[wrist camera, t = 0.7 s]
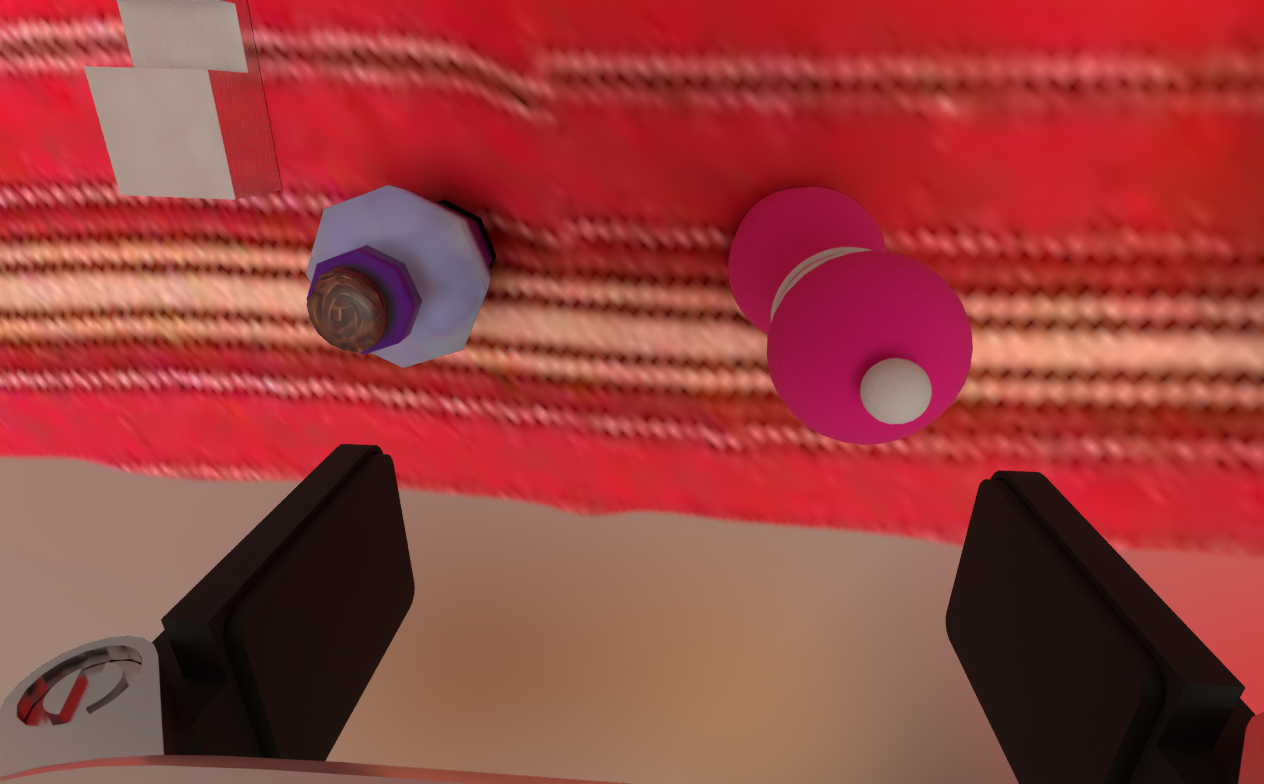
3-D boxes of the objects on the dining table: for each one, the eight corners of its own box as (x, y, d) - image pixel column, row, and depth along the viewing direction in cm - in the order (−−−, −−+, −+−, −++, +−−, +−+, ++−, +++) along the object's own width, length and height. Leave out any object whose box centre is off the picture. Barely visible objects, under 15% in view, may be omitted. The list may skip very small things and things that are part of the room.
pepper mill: (696, 250, 35) (703, 404, 17) (798, 146, 33) (935, 196, 14) (786, 338, 37) (881, 567, 19) (889, 246, 34) (1118, 405, 16)
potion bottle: (364, 164, 35) (214, 191, 24) (522, 177, 34) (444, 210, 23) (378, 318, 38) (254, 403, 27) (522, 331, 38) (455, 422, 27)
